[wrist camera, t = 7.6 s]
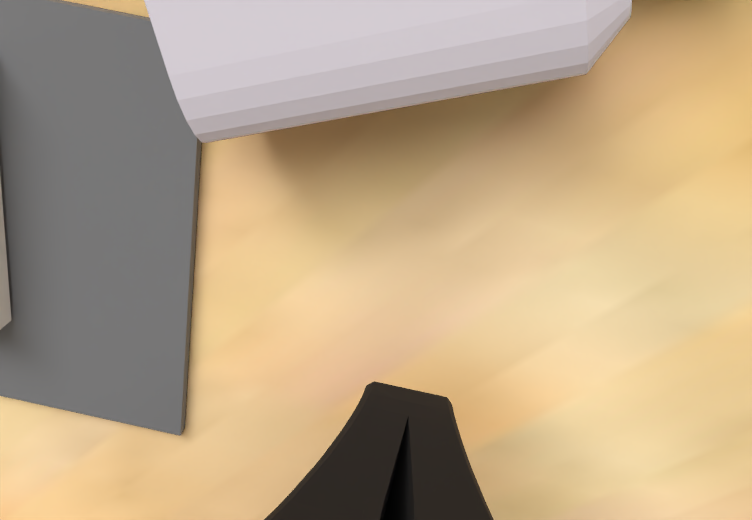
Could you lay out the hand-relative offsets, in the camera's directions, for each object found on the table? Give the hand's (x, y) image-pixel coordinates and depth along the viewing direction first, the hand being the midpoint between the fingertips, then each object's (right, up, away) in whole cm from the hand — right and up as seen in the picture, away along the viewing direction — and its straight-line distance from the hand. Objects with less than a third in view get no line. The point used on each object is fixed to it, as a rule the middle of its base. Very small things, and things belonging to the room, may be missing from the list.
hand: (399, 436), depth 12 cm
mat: (-13, +4, +11) cm, 17 cm away
